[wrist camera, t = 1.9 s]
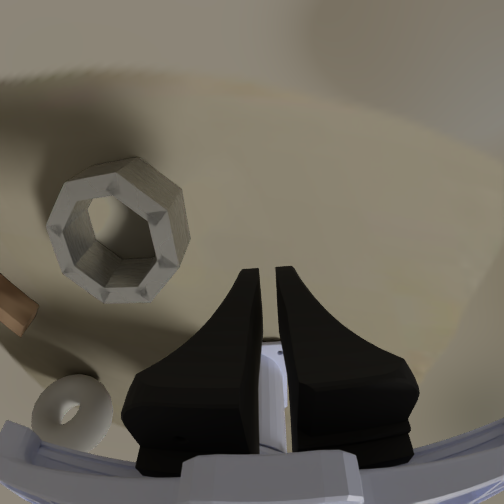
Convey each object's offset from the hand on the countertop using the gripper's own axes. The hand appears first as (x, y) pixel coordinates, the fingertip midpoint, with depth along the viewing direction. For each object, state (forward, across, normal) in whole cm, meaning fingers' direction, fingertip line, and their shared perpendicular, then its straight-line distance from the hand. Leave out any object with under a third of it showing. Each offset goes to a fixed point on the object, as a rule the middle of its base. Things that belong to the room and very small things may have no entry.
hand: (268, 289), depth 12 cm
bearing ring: (+8, +9, 0) cm, 12 cm away
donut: (+9, +20, +17) cm, 28 cm away
